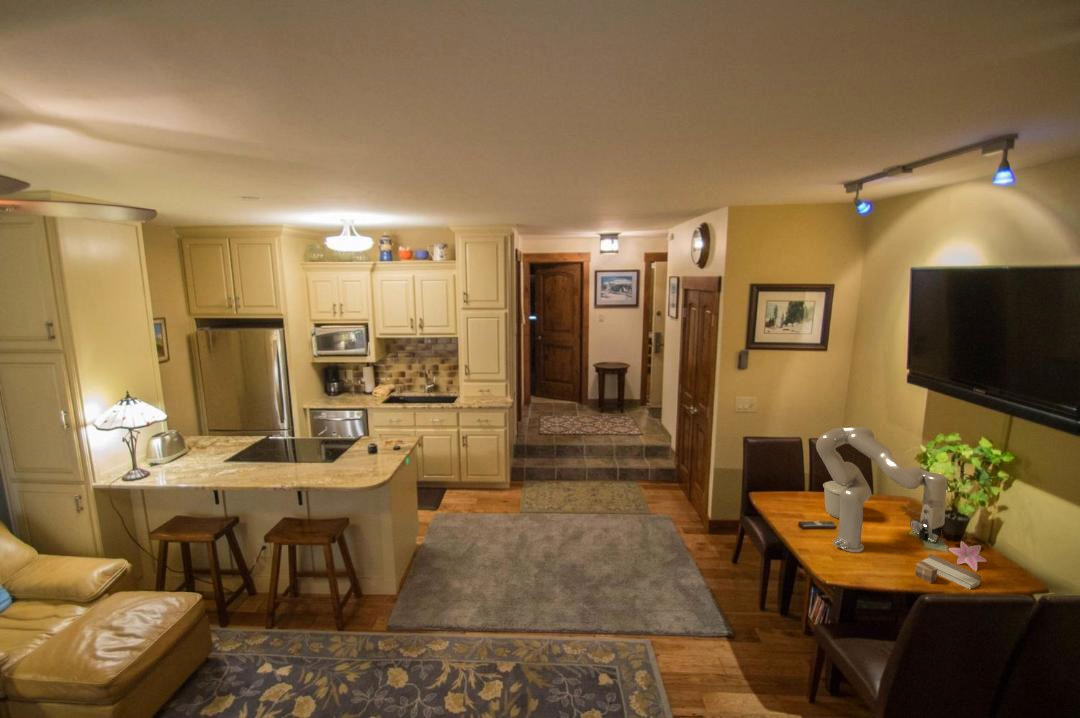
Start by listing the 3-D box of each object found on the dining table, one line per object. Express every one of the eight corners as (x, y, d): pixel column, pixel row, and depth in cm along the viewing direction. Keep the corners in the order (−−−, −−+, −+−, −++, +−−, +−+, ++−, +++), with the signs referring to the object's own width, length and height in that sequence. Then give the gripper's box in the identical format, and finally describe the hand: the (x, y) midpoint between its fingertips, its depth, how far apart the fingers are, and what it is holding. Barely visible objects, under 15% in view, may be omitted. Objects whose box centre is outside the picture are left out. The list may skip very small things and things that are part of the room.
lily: (943, 557, 222) (945, 546, 217) (964, 546, 222) (966, 535, 218) (969, 578, 212) (972, 567, 207) (991, 567, 212) (994, 555, 207)
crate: (930, 583, 202) (931, 571, 201) (914, 575, 208) (916, 563, 206) (936, 580, 204) (937, 568, 203) (920, 573, 209) (922, 561, 208)
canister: (866, 518, 257) (869, 483, 253) (843, 525, 250) (847, 489, 247) (835, 504, 273) (837, 471, 270) (813, 511, 267) (816, 477, 263)
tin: (942, 545, 230) (944, 529, 229) (937, 545, 230) (939, 530, 228) (912, 529, 245) (914, 515, 243) (907, 530, 244) (909, 515, 243)
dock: (969, 589, 197) (971, 581, 197) (919, 565, 215) (920, 557, 214) (979, 584, 201) (981, 576, 200) (929, 560, 218) (930, 553, 217)
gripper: (932, 509, 195) (928, 546, 197) (955, 500, 201) (951, 536, 204) (912, 502, 201) (908, 538, 204) (934, 493, 208) (931, 528, 211)
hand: (929, 537), depth 204 cm, fingers open, 9 cm apart
